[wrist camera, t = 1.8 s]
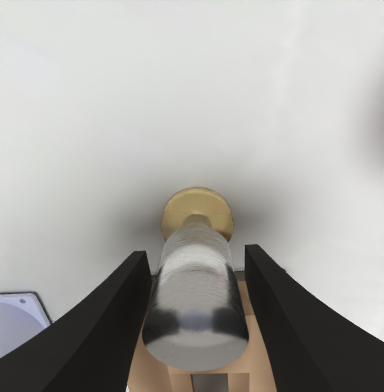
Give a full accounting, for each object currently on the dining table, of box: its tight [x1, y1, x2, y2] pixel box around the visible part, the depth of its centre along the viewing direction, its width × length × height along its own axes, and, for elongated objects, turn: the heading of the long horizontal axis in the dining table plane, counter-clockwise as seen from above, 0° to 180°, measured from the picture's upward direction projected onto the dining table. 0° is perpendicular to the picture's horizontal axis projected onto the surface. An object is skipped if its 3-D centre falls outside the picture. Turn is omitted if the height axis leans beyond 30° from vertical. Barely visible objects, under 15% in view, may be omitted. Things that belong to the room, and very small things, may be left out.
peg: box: [142, 187, 249, 371], centre depth 11 cm, size 5×5×8 cm
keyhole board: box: [127, 269, 286, 392], centre depth 19 cm, size 13×22×4 cm, turn 5°
